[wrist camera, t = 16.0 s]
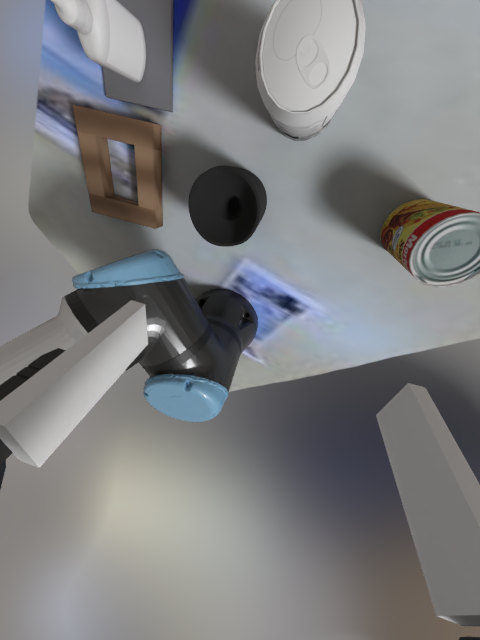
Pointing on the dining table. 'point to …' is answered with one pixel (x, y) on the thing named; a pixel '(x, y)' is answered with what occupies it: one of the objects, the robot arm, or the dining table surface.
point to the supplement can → (308, 61)
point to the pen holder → (227, 205)
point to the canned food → (434, 241)
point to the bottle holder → (97, 167)
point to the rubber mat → (149, 58)
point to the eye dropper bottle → (107, 34)
